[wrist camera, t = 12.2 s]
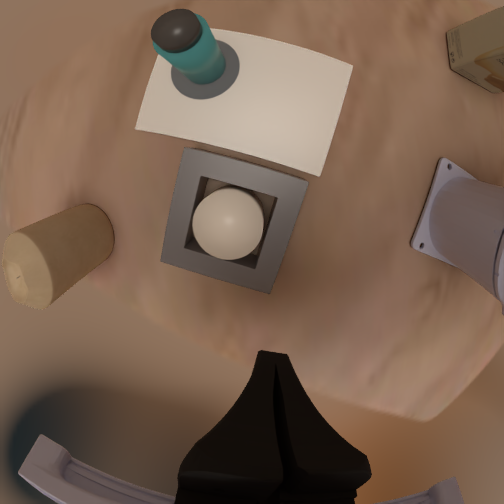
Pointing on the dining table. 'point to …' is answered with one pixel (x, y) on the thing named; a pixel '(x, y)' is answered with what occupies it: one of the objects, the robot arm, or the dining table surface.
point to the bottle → (188, 45)
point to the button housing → (245, 175)
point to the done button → (229, 222)
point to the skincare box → (480, 50)
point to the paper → (253, 101)
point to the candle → (55, 254)
